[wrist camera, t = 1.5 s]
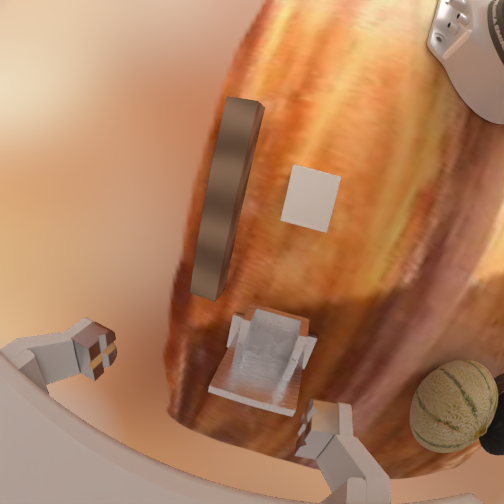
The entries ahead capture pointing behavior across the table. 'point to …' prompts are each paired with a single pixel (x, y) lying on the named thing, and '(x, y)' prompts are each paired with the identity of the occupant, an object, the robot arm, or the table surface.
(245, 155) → the walnut rail
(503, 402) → the black rounded lump
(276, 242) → the table surface
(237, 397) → the bracket
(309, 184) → the pale grey block
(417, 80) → the table surface
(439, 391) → the cantaloupe
